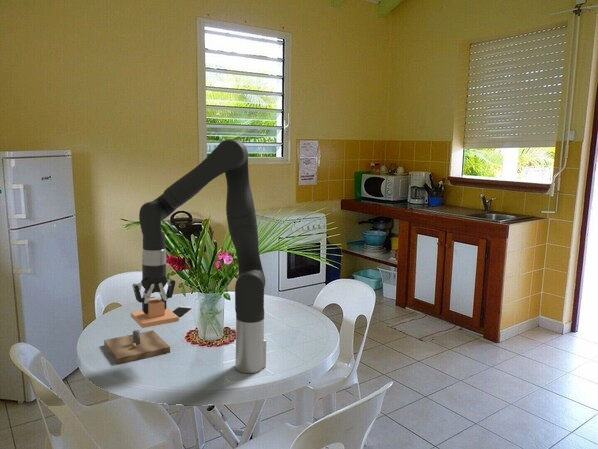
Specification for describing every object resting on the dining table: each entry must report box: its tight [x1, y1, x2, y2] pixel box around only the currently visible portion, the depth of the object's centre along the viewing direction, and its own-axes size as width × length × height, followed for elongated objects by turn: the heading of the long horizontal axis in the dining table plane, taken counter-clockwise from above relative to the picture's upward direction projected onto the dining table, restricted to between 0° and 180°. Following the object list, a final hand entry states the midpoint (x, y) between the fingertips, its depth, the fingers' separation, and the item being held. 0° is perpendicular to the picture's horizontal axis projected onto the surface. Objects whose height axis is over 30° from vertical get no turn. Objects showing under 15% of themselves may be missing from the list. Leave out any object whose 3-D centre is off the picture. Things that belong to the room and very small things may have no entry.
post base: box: [103, 329, 171, 365], centre depth 169 cm, size 18×18×6 cm
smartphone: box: [171, 305, 195, 321], centre depth 208 cm, size 7×15×1 cm, turn 169°
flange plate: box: [130, 298, 180, 329], centre depth 157 cm, size 12×12×6 cm
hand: (154, 311), depth 157 cm, fingers closed on flange plate, 5 cm apart
